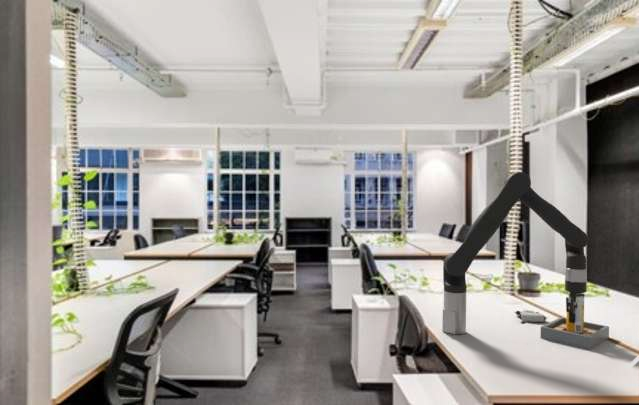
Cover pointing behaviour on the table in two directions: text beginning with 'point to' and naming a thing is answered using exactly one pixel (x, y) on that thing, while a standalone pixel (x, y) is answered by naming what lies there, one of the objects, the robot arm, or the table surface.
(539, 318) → the robot toy
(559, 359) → the table surface
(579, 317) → the beer can
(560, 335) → the open-top box
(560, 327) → the plate
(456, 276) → the robot arm
